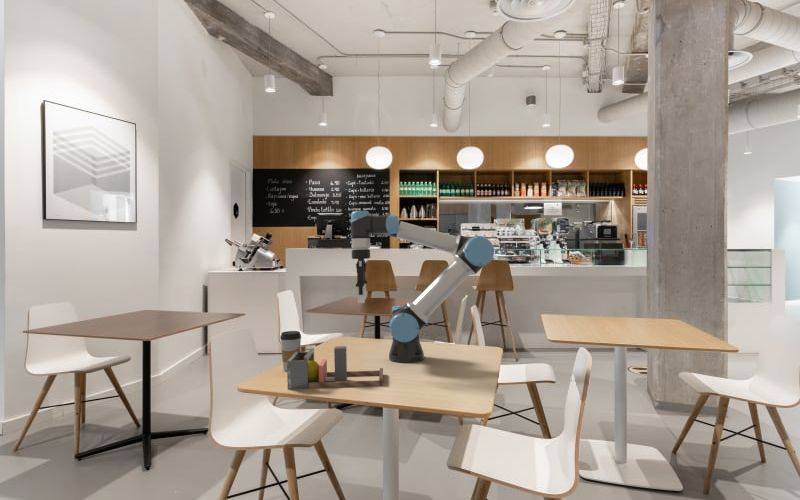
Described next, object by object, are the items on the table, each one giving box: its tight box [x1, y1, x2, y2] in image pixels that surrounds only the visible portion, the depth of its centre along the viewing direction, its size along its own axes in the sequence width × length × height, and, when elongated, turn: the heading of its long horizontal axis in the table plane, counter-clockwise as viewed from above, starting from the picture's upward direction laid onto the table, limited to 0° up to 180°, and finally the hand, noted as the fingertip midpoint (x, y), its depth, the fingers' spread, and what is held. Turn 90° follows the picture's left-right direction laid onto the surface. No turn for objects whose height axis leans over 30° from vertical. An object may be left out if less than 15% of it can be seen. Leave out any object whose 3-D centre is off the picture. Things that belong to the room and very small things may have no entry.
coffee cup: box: [279, 330, 302, 372], centre depth 193 cm, size 8×8×15 cm
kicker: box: [318, 345, 348, 382], centre depth 174 cm, size 9×10×12 cm
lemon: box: [308, 360, 319, 383], centre depth 172 cm, size 11×8×8 cm
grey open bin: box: [286, 347, 315, 389], centre depth 174 cm, size 7×16×11 cm, turn 2°
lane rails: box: [307, 367, 384, 389], centre depth 174 cm, size 26×15×2 cm, turn 92°
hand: (362, 301), depth 195 cm, fingers open, 13 cm apart
